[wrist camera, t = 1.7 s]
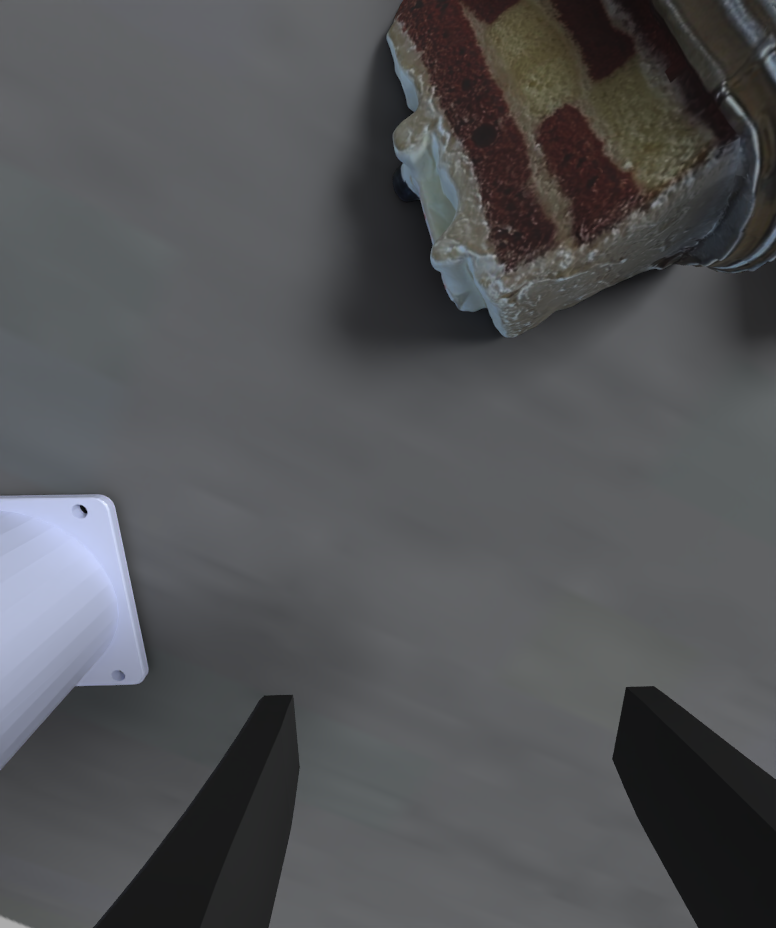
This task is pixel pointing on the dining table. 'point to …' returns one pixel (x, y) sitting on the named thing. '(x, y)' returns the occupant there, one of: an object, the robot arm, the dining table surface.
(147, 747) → the dining table surface
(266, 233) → the dining table surface
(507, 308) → the chocolate cake
